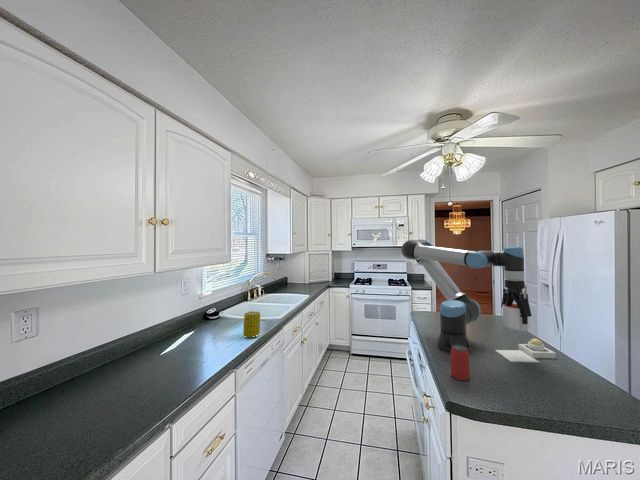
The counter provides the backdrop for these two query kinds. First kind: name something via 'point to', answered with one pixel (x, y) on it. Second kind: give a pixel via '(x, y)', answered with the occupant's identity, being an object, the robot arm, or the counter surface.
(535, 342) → the dome
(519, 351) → the pad
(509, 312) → the cup
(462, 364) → the beer can
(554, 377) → the counter surface
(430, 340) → the counter surface
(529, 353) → the dome base
